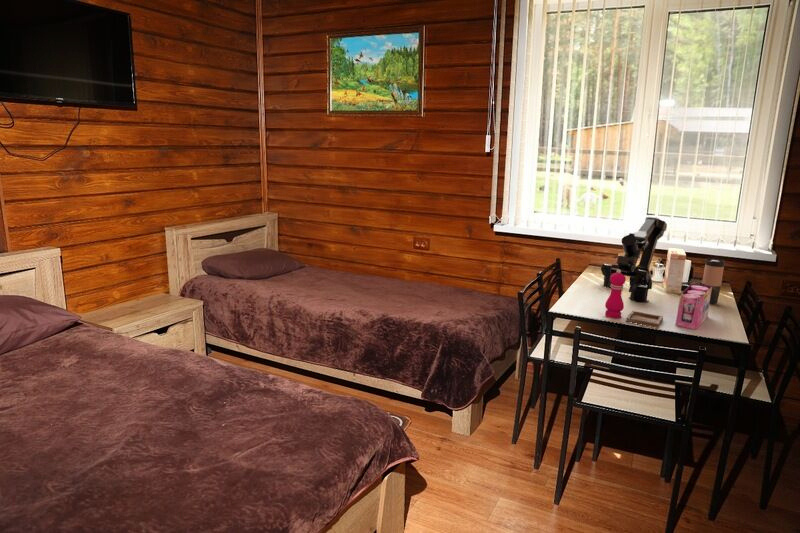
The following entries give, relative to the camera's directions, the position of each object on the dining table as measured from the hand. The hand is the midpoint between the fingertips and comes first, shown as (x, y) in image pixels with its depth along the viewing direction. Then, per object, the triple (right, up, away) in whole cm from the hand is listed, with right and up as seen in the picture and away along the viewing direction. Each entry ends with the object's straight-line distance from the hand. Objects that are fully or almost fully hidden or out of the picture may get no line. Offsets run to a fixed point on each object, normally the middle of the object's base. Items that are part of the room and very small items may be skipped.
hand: (617, 289), depth 231 cm
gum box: (+30, -13, -2) cm, 32 cm away
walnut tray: (+9, -13, -4) cm, 16 cm away
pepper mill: (-1, -11, +1) cm, 11 cm away
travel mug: (+52, -7, +26) cm, 59 cm away
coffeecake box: (+45, -2, +46) cm, 65 cm away
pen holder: (+17, 0, +49) cm, 52 cm away
